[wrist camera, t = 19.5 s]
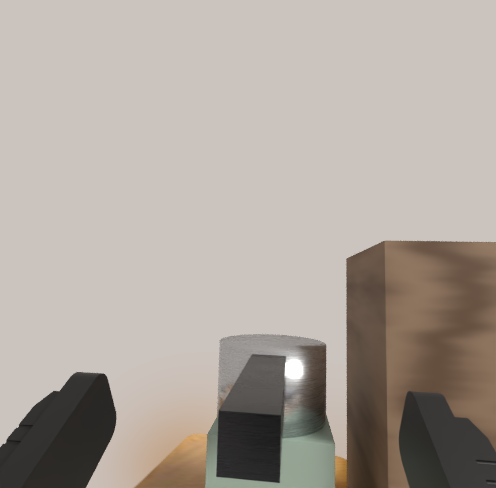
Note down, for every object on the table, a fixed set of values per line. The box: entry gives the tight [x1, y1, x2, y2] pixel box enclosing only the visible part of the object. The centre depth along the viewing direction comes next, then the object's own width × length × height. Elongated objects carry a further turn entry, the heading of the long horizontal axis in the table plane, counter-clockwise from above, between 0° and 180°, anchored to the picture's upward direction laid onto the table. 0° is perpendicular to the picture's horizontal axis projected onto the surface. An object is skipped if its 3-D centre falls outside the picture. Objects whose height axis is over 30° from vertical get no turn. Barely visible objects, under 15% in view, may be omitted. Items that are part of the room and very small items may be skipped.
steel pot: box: [216, 334, 326, 483], centre depth 24 cm, size 9×21×6 cm, turn 173°
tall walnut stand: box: [347, 241, 496, 488], centre depth 29 cm, size 9×16×32 cm, turn 173°
